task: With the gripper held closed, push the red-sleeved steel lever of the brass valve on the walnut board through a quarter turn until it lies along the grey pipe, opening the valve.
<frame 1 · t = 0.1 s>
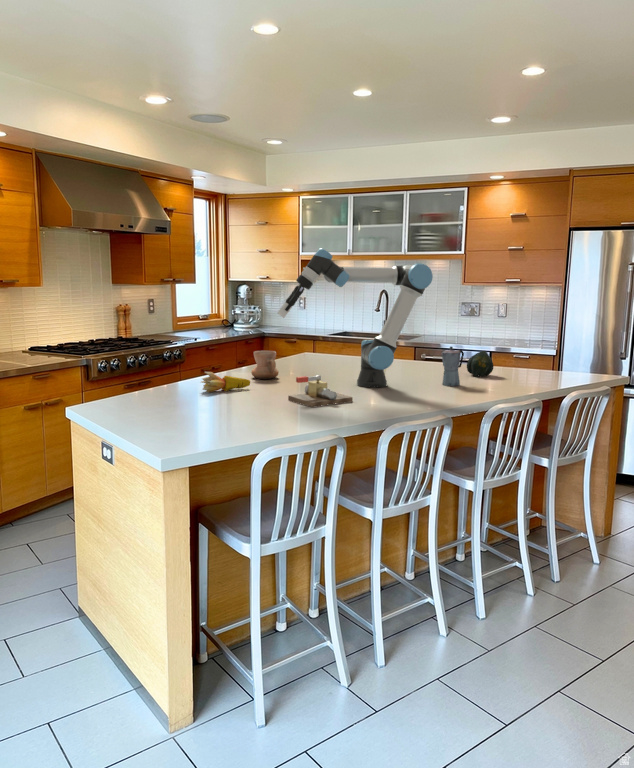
hand: (280, 315, 289), 36 cm above the countertop, tool tilted 35°, fingers open, 13 cm apart
mounting board: (320, 400, 274), on the countertop
moka pot: (451, 385, 320), on the countertop
valve pipe: (320, 389, 273), point 5 cm above the countertop
valve lever: (309, 378, 271), point 10 cm above the countertop, hinge at 0.0°
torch: (225, 391, 294), on the countertop
squash: (479, 376, 351), on the countertop
ceramic jug: (265, 378, 331), on the countertop
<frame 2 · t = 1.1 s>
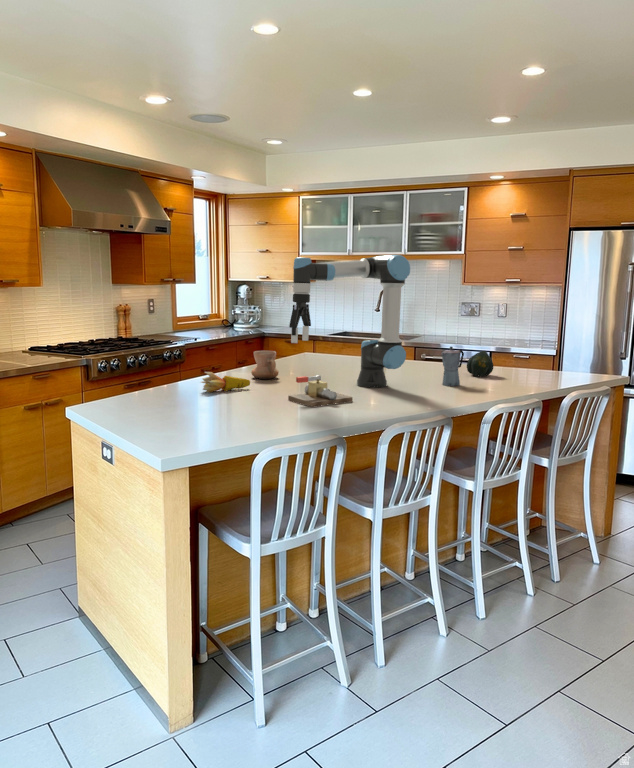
hand: (299, 341, 275), 26 cm above the countertop, tool pointing down, fingers open, 13 cm apart
nothing on the countertop moved.
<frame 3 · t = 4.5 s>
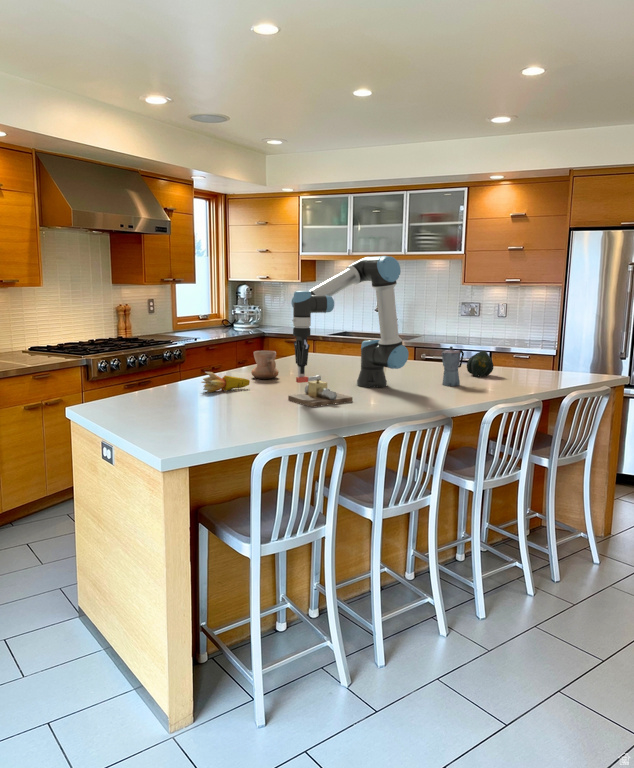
hand: (301, 380, 271), 9 cm above the countertop, tool pointing down, fingers closed
valve lever: (309, 378, 271), point 10 cm above the countertop, hinge at 0.0°, touching gripper
everything else where it was.
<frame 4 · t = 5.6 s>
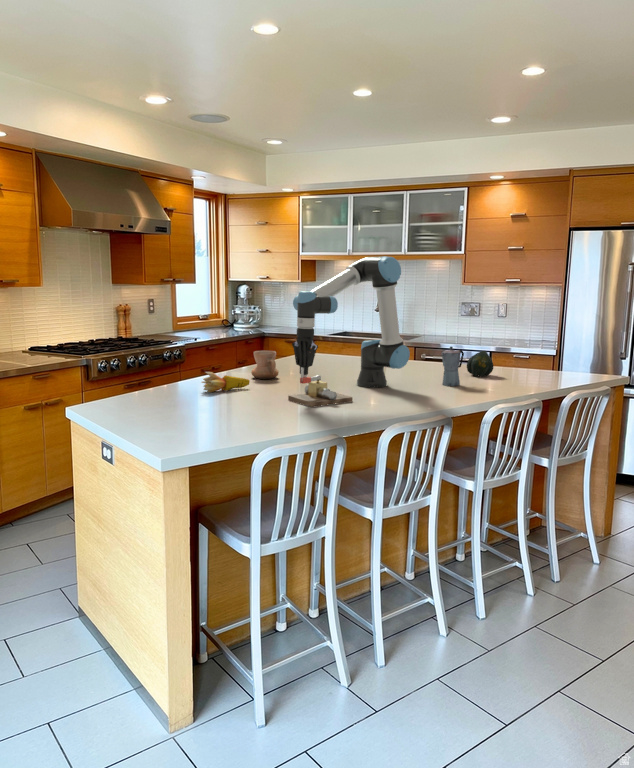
hand: (303, 381, 269), 9 cm above the countertop, tool pointing down, fingers closed
valve lever: (310, 379, 270), point 10 cm above the countertop, hinge at 14.7°, touching gripper
everything else where it was.
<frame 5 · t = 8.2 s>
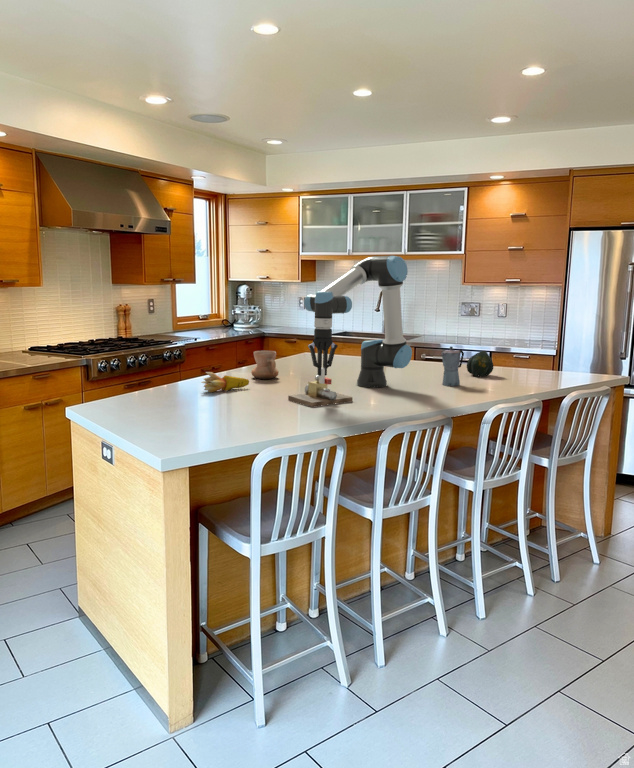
hand: (321, 383, 266), 9 cm above the countertop, tool pointing down, fingers closed
valve lever: (322, 379, 270), point 10 cm above the countertop, hinge at 80.1°
everything else where it was.
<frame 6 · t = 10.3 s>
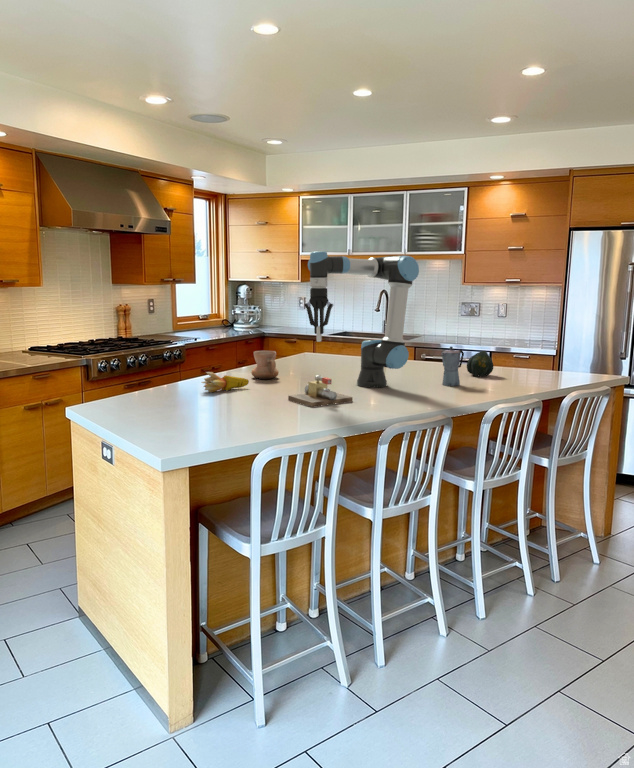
hand: (319, 341, 275), 26 cm above the countertop, tool pointing down, fingers closed
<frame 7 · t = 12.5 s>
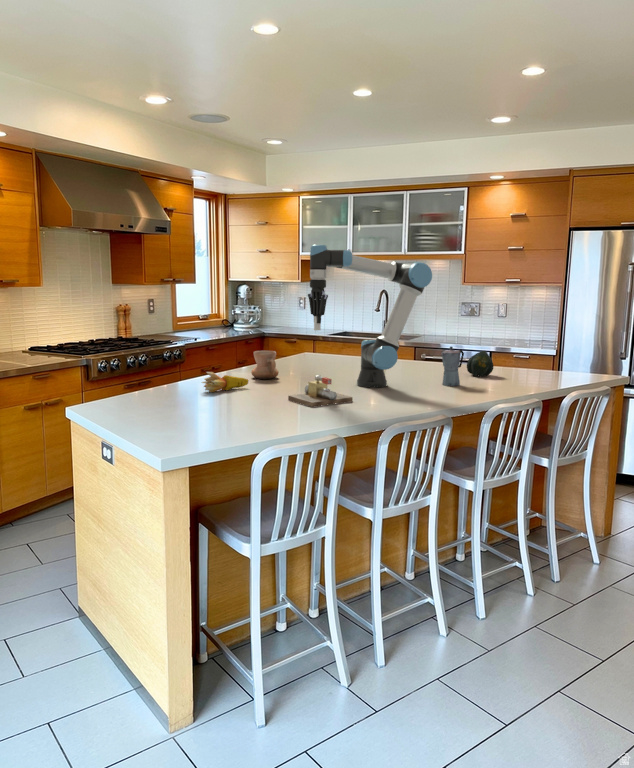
hand: (317, 330, 290), 29 cm above the countertop, tool pointing down, fingers closed
at the end: valve lever at +80° (first picture: +0°) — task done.
